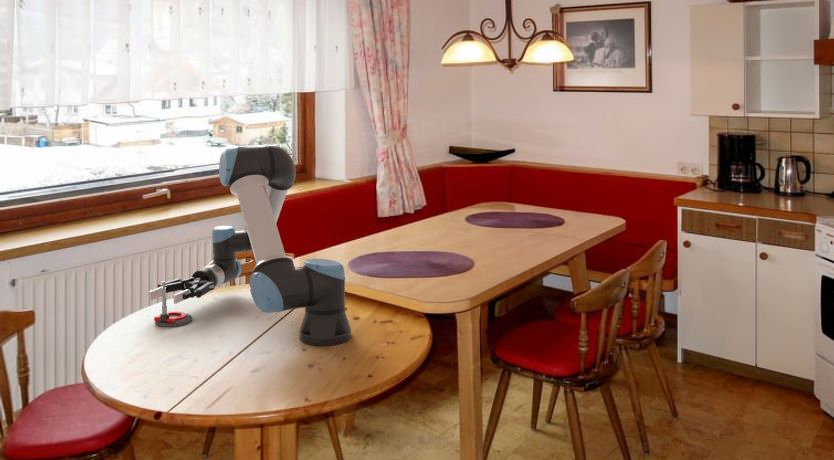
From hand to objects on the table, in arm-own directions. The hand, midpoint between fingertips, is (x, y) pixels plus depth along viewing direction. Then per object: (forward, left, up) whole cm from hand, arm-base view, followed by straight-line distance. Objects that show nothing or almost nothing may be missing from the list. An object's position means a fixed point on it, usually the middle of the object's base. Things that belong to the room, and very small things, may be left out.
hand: (162, 297), depth 225 cm
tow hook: (+4, -1, -8) cm, 9 cm away
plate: (+4, -2, -9) cm, 10 cm away
